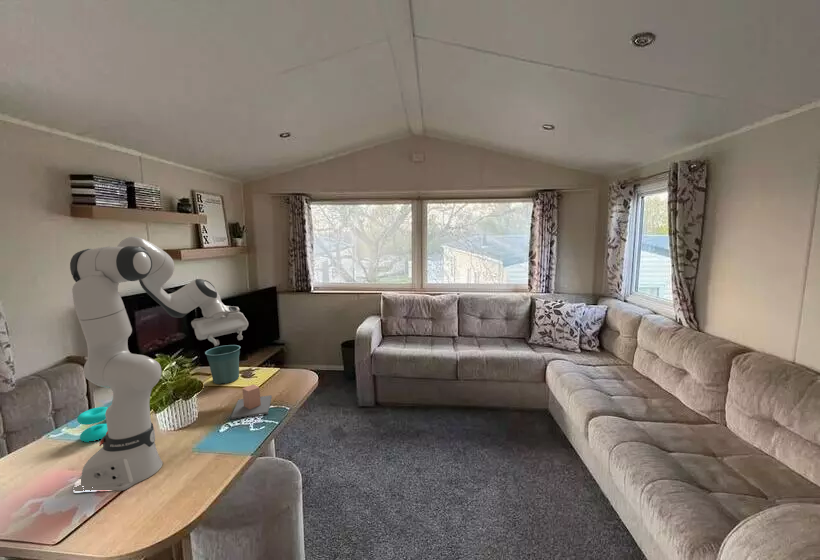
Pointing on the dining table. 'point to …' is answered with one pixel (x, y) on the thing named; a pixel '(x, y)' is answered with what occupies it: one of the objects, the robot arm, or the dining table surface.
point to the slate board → (244, 412)
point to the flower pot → (224, 363)
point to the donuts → (92, 418)
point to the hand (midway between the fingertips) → (229, 341)
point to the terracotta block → (251, 396)
